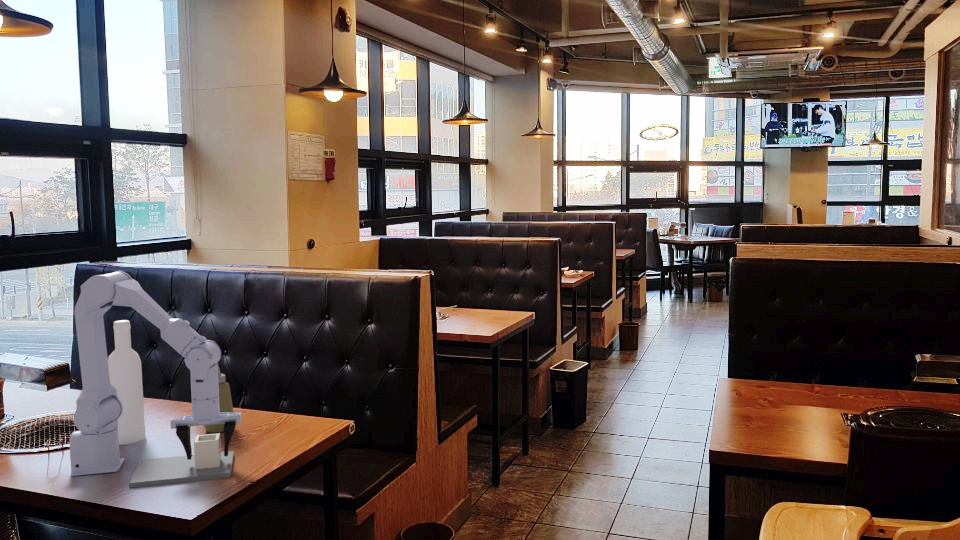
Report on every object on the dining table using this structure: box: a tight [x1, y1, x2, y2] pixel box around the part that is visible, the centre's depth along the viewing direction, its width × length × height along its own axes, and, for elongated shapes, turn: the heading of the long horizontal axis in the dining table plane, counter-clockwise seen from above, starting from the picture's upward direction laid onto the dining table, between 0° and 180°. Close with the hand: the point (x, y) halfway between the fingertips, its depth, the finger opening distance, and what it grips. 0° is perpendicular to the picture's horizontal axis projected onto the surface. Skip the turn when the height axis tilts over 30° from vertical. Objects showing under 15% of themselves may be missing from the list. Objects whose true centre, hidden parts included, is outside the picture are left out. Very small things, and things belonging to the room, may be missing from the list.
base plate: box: [128, 450, 235, 489], centre depth 162 cm, size 20×14×4 cm
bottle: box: [108, 319, 146, 446], centre depth 181 cm, size 8×8×30 cm
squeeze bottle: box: [203, 361, 235, 434], centre depth 189 cm, size 8×8×18 cm
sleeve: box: [193, 432, 222, 469], centre depth 163 cm, size 5×5×6 cm
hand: (208, 456), depth 163 cm, fingers open, 7 cm apart
